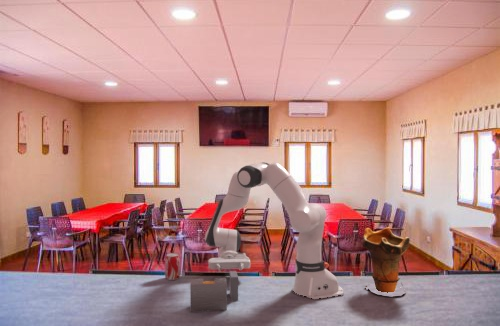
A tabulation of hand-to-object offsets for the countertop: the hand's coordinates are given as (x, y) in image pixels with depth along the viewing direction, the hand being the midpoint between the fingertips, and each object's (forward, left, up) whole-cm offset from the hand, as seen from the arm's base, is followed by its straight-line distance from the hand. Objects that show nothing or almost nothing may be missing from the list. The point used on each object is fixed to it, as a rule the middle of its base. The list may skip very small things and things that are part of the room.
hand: (230, 268), depth 171 cm
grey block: (0, +12, -8) cm, 15 cm away
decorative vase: (-69, +13, -8) cm, 71 cm away
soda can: (+28, -14, -8) cm, 32 cm away
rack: (+11, +22, -8) cm, 26 cm away
